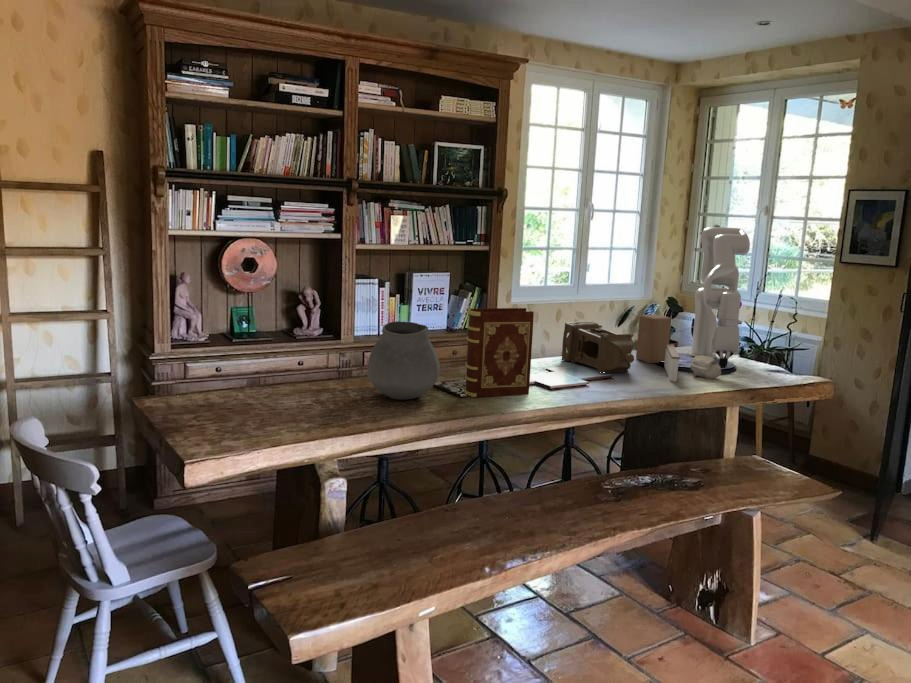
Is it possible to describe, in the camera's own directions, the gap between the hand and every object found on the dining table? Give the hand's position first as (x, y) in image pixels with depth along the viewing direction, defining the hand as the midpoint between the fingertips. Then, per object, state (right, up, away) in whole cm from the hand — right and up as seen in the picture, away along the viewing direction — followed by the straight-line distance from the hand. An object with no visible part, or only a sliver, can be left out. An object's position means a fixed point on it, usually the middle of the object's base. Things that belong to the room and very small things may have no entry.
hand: (722, 367), depth 298 cm
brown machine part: (-47, -1, +9) cm, 48 cm away
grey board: (-20, -3, +4) cm, 21 cm away
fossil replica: (-7, -4, +1) cm, 8 cm away
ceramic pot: (-126, -9, -46) cm, 134 cm away
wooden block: (-22, +2, +27) cm, 35 cm away
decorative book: (-94, -8, -36) cm, 101 cm away
